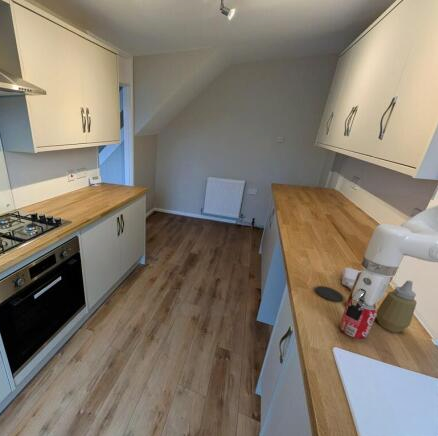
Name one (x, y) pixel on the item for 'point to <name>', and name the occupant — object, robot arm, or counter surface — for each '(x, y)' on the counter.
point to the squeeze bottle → (397, 308)
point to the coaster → (329, 294)
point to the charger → (349, 277)
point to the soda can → (359, 321)
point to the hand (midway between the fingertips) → (359, 312)
